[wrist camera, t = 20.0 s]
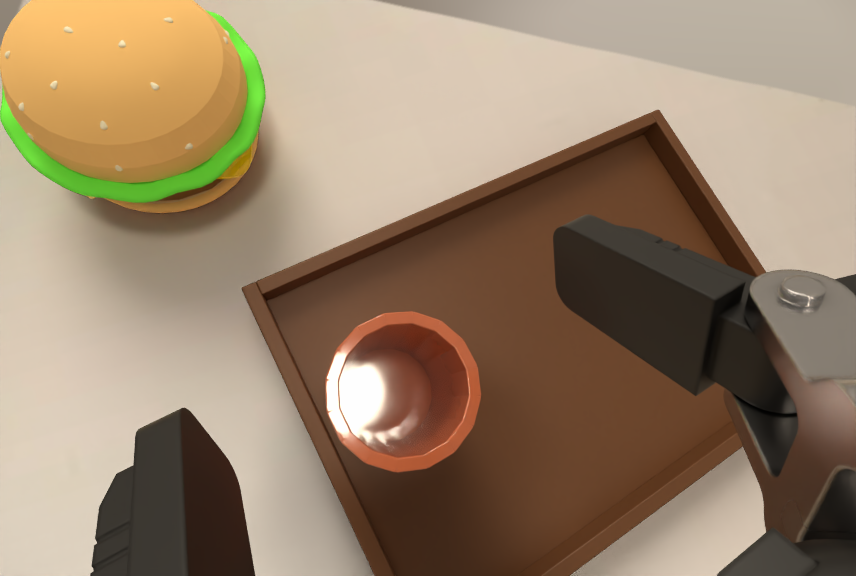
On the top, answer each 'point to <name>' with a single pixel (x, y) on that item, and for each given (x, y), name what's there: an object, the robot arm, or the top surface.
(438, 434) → the reddish brown cup
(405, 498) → the tray
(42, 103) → the hamburger
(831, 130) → the top surface
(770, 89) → the top surface
